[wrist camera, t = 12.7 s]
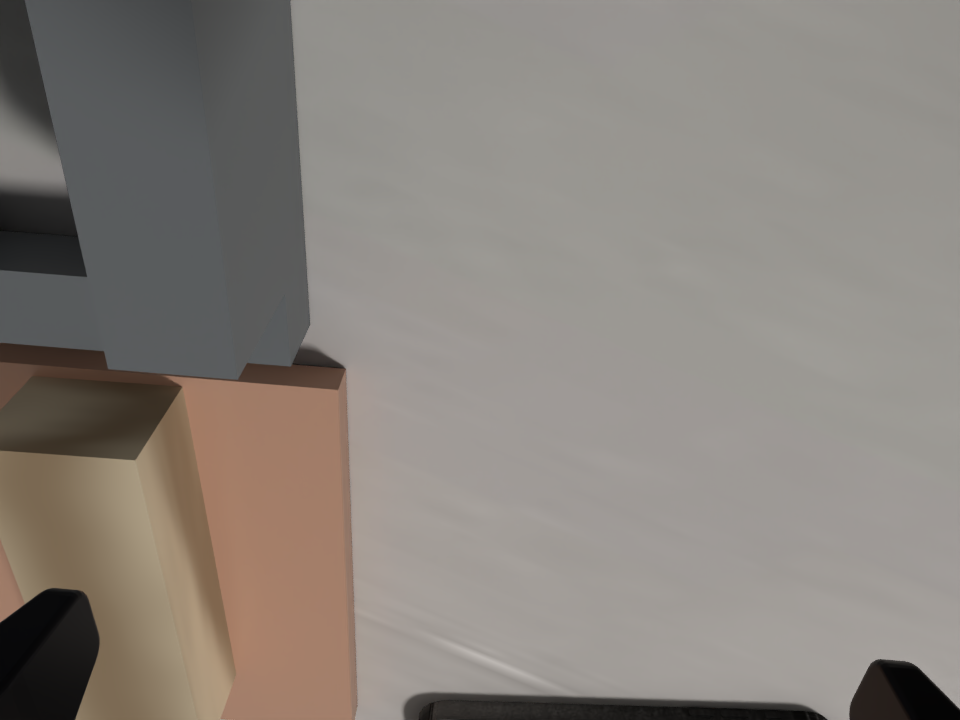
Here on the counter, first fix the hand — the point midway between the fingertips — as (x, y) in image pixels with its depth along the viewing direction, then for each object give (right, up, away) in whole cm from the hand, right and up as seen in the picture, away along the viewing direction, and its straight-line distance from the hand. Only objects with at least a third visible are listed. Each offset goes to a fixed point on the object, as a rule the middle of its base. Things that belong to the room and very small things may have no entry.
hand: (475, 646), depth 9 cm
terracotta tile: (-10, -3, +17) cm, 20 cm away
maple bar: (-10, -2, +15) cm, 18 cm away
